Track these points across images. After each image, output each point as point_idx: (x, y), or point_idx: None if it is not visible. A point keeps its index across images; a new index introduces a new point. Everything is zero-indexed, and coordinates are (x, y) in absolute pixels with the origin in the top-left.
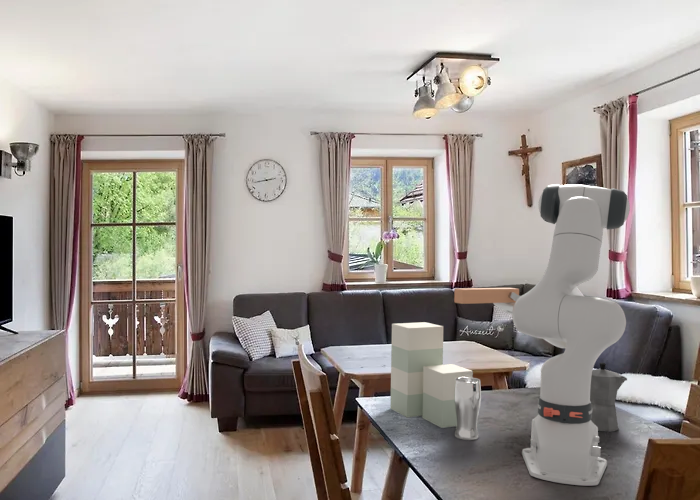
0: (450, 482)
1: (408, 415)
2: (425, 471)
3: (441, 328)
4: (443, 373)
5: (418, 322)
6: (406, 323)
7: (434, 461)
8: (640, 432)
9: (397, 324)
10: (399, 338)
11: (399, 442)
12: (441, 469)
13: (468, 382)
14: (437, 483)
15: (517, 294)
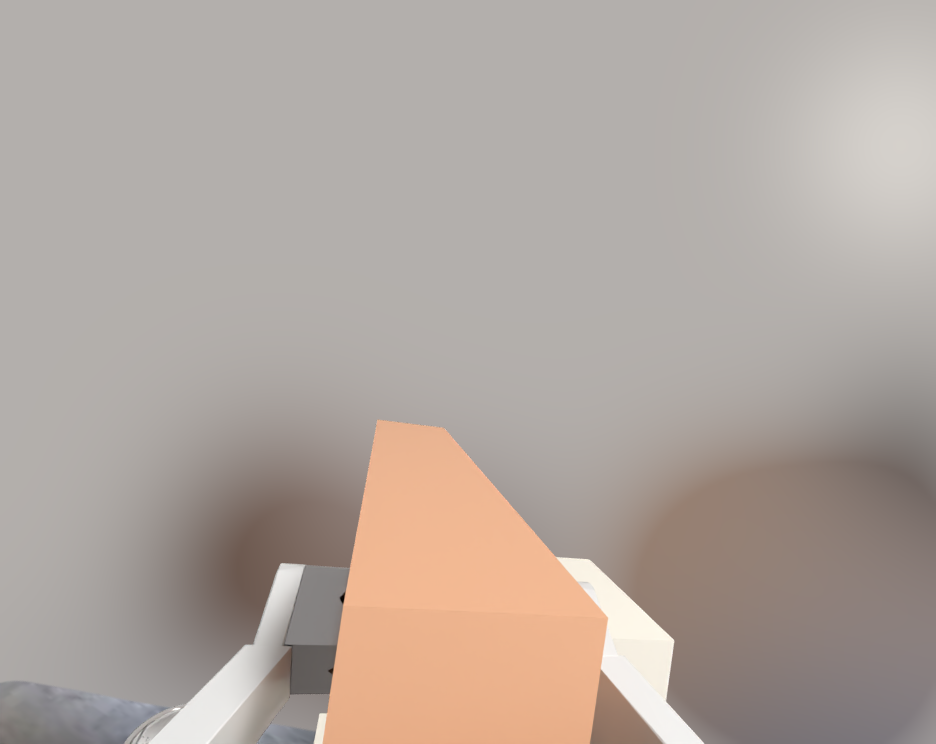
0: (7, 714)
1: None
2: (96, 701)
3: None
4: (319, 715)
5: (650, 618)
6: (605, 583)
7: (111, 741)
8: None
9: (573, 562)
10: None
11: (267, 730)
12: (66, 731)
13: (150, 719)
14: (36, 693)
15: (330, 698)
